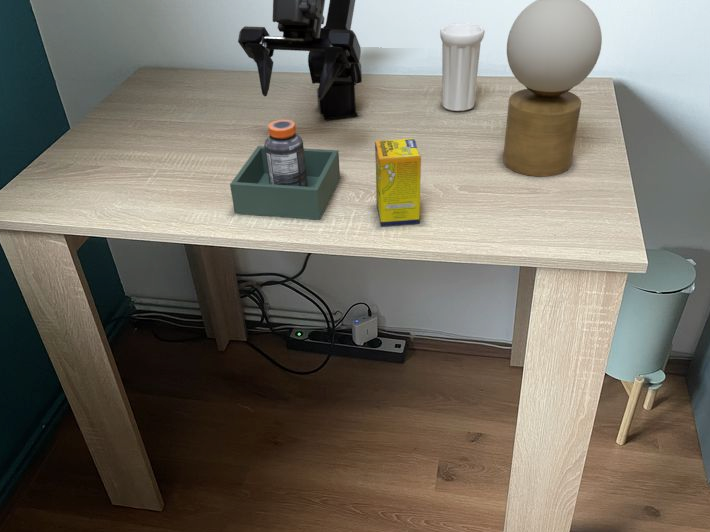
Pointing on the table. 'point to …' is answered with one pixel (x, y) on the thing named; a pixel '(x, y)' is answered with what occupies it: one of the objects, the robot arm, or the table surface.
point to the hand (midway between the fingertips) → (291, 96)
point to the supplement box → (398, 181)
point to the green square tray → (286, 187)
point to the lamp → (548, 83)
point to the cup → (460, 64)
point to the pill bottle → (285, 155)
